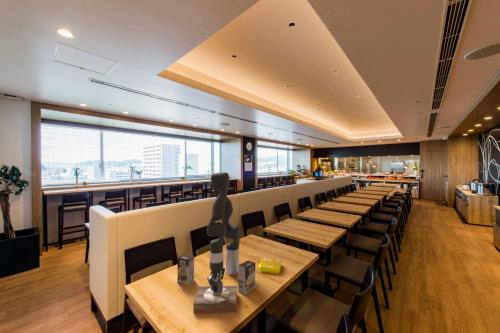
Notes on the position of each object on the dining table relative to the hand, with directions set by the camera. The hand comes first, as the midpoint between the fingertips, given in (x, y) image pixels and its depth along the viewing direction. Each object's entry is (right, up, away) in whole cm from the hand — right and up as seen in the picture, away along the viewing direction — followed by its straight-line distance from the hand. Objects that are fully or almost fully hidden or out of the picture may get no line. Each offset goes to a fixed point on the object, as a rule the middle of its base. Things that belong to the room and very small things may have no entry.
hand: (216, 290), depth 116 cm
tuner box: (0, -7, 0) cm, 7 cm away
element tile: (+34, -8, +39) cm, 52 cm away
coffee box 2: (+17, -7, +13) cm, 22 cm away
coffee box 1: (-24, -7, +21) cm, 33 cm away
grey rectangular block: (+1, -2, -1) cm, 3 cm away
